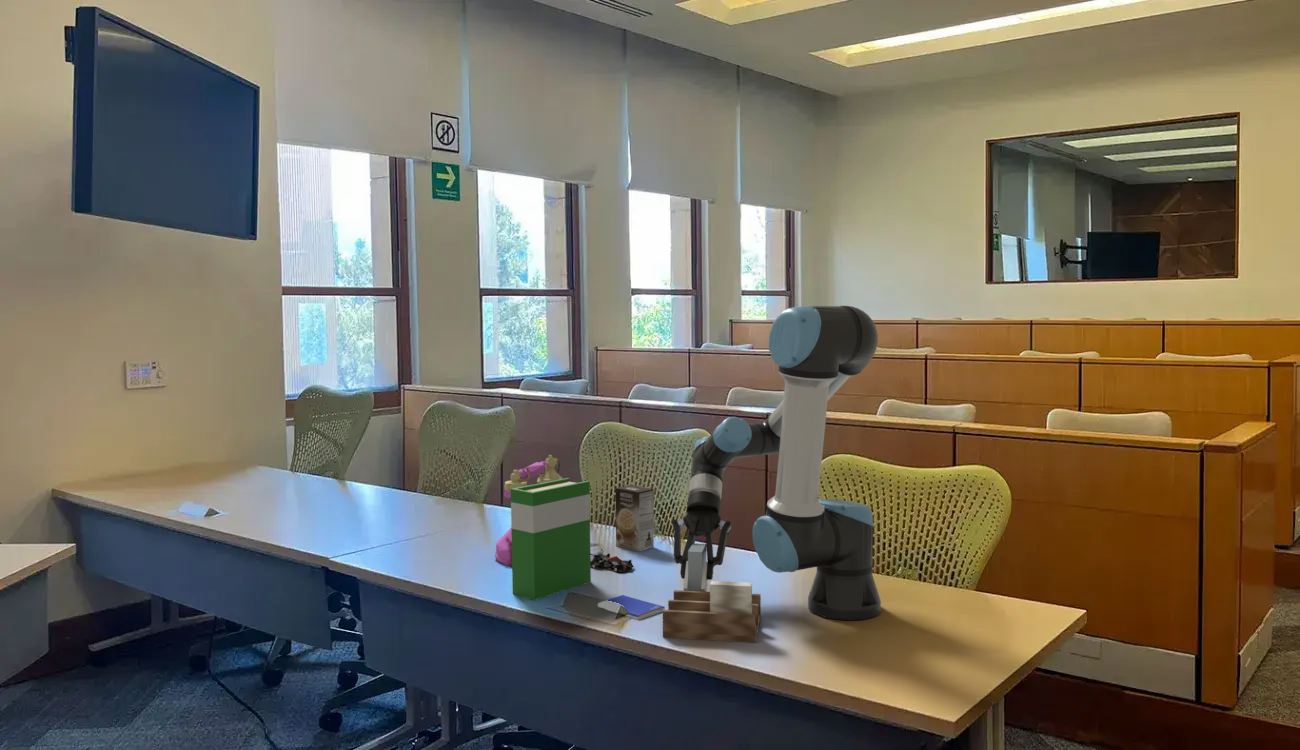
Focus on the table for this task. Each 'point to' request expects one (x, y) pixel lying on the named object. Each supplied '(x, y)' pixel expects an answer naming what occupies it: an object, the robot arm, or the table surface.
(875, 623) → the table surface
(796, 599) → the table surface
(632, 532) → the coffee box
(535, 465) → the telephone
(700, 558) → the grey upright pillar
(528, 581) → the hardback book
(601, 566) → the toy car
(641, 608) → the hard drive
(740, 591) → the rack
